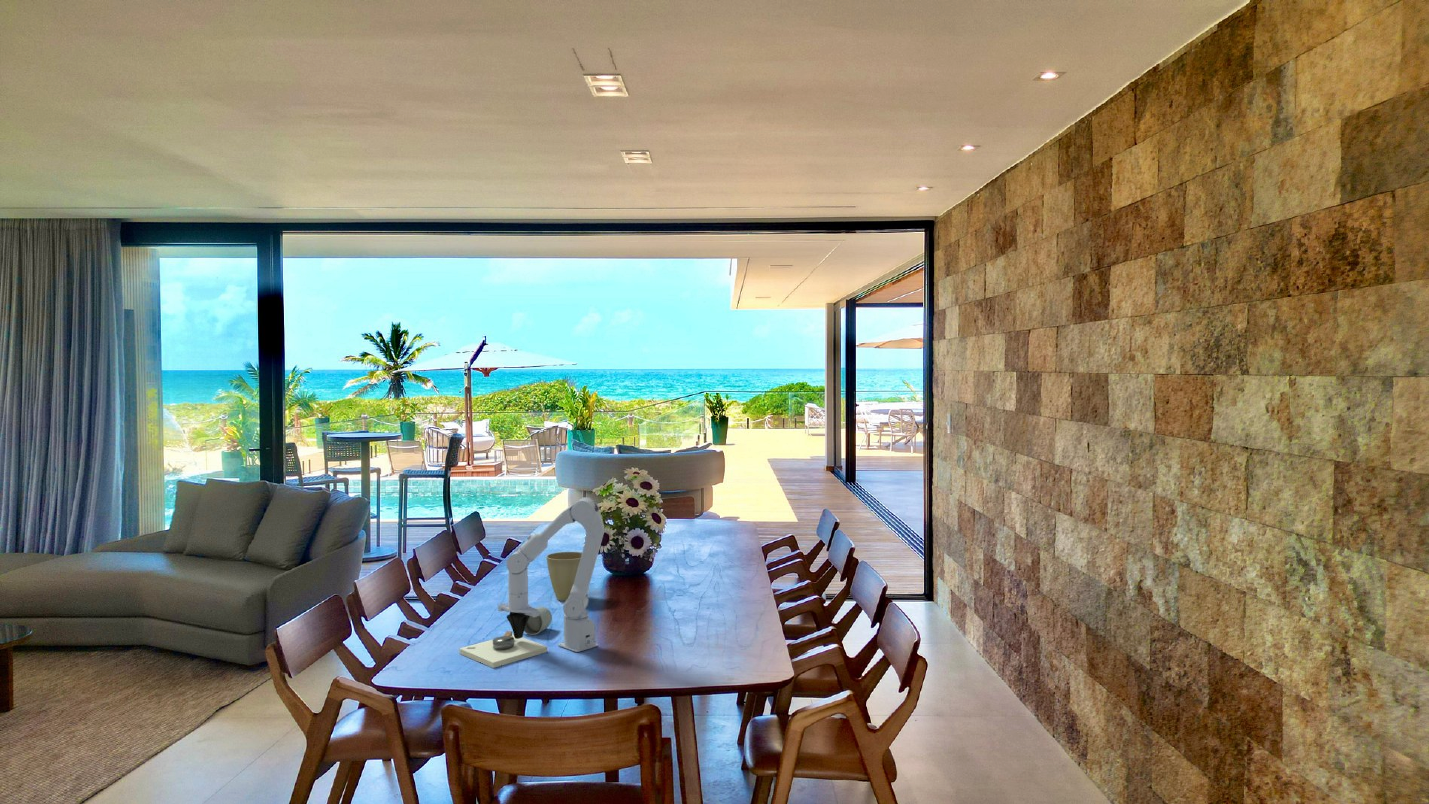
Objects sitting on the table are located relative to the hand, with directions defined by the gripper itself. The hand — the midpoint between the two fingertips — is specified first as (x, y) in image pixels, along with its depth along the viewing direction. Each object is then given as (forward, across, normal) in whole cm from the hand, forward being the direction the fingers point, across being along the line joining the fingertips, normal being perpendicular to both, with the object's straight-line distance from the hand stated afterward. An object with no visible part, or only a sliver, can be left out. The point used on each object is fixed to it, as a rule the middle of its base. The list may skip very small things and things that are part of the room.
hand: (518, 637), depth 232 cm
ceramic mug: (+3, +6, -13) cm, 15 cm away
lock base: (+3, 0, +6) cm, 7 cm away
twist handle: (+1, +1, +4) cm, 4 cm away
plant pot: (+3, +22, -50) cm, 55 cm away
